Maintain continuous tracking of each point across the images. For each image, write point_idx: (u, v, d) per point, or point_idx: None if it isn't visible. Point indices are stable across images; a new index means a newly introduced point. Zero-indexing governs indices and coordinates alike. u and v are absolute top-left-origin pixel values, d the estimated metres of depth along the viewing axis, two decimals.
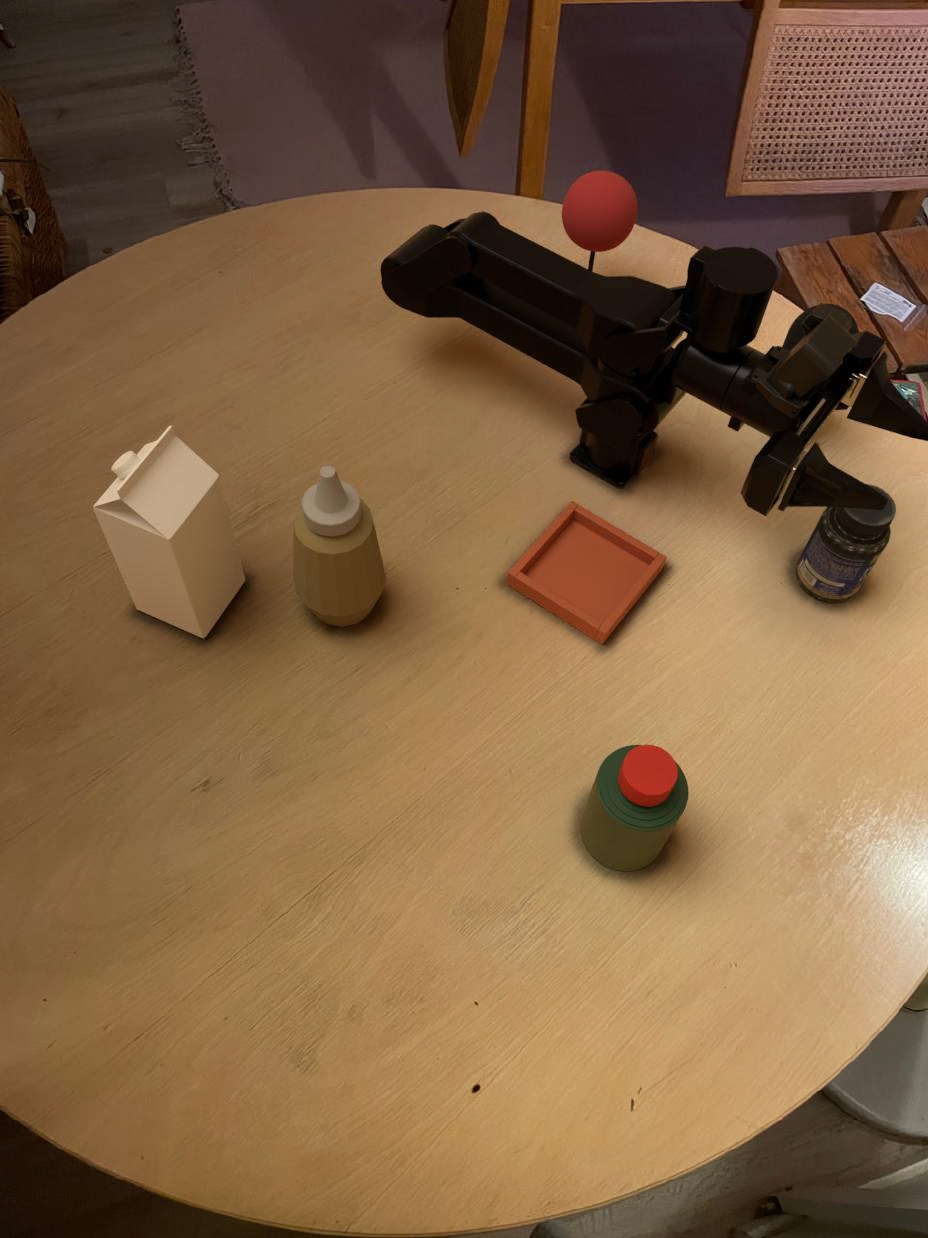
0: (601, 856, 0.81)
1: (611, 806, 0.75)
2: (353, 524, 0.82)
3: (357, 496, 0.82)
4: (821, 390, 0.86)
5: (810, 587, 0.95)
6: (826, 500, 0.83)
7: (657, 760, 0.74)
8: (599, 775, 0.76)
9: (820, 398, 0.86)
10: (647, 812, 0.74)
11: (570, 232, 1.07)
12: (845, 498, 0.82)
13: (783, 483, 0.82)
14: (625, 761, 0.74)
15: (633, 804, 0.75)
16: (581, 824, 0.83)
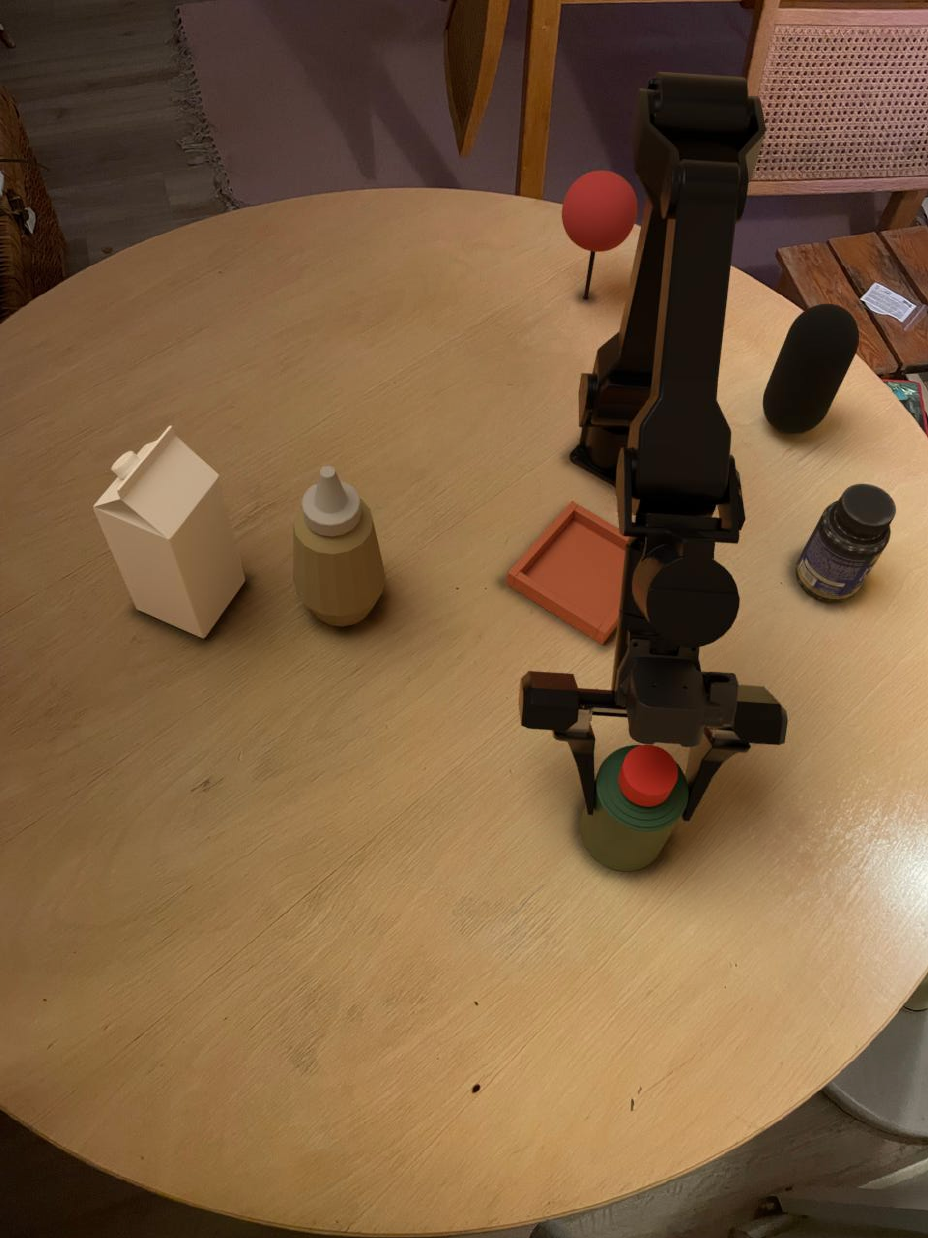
0: (601, 856, 0.81)
1: (611, 806, 0.75)
2: (353, 524, 0.82)
3: (357, 496, 0.82)
4: None
5: (810, 587, 0.95)
6: None
7: (657, 760, 0.74)
8: (599, 775, 0.76)
9: None
10: (647, 812, 0.74)
11: (570, 231, 1.07)
12: None
13: None
14: (625, 761, 0.74)
15: (633, 804, 0.75)
16: (581, 824, 0.83)
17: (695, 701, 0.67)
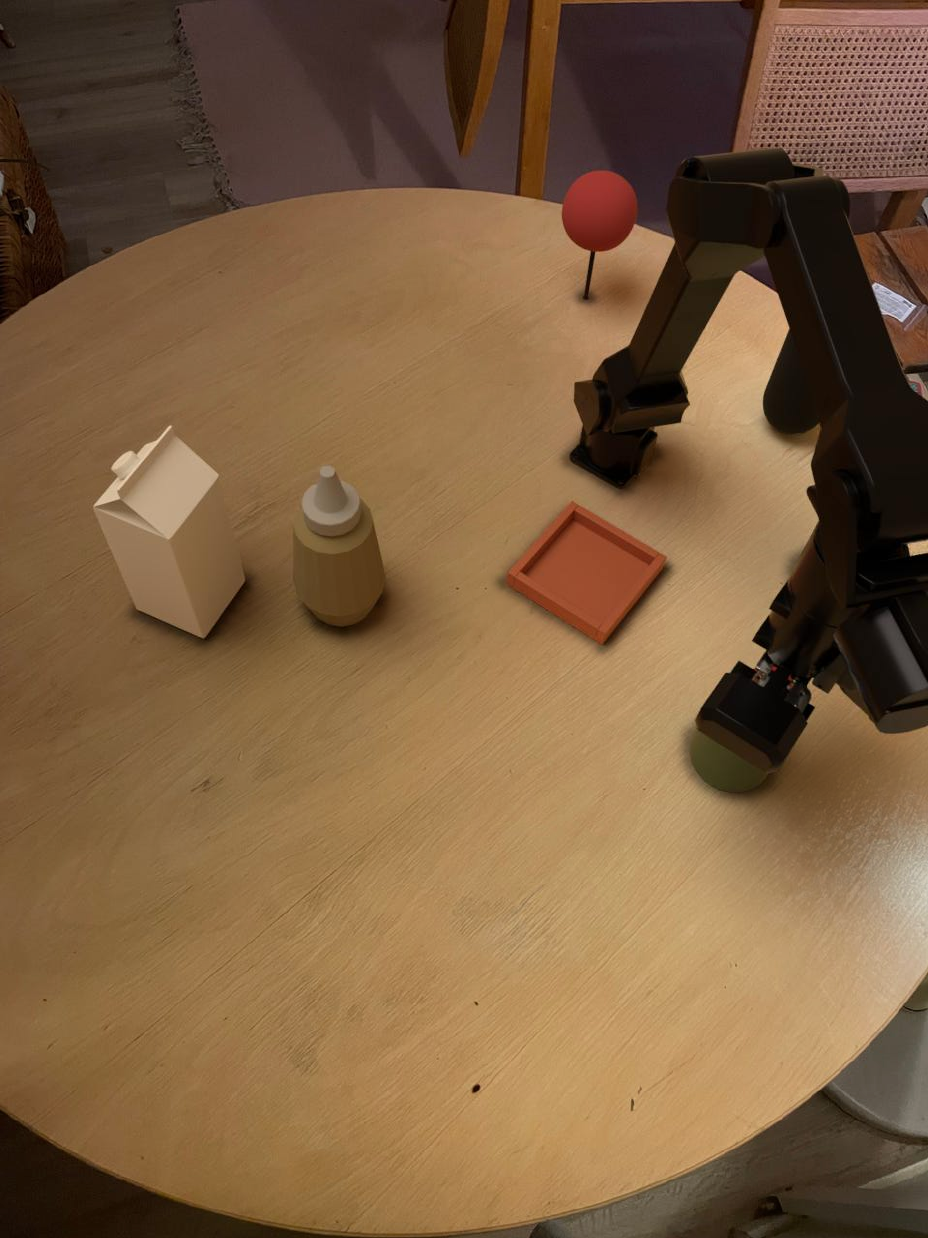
0: (713, 778, 0.85)
1: None
2: (352, 524, 0.82)
3: (357, 496, 0.82)
4: None
5: None
6: None
7: None
8: None
9: None
10: None
11: (570, 231, 1.07)
12: None
13: None
14: None
15: None
16: (691, 748, 0.87)
17: None
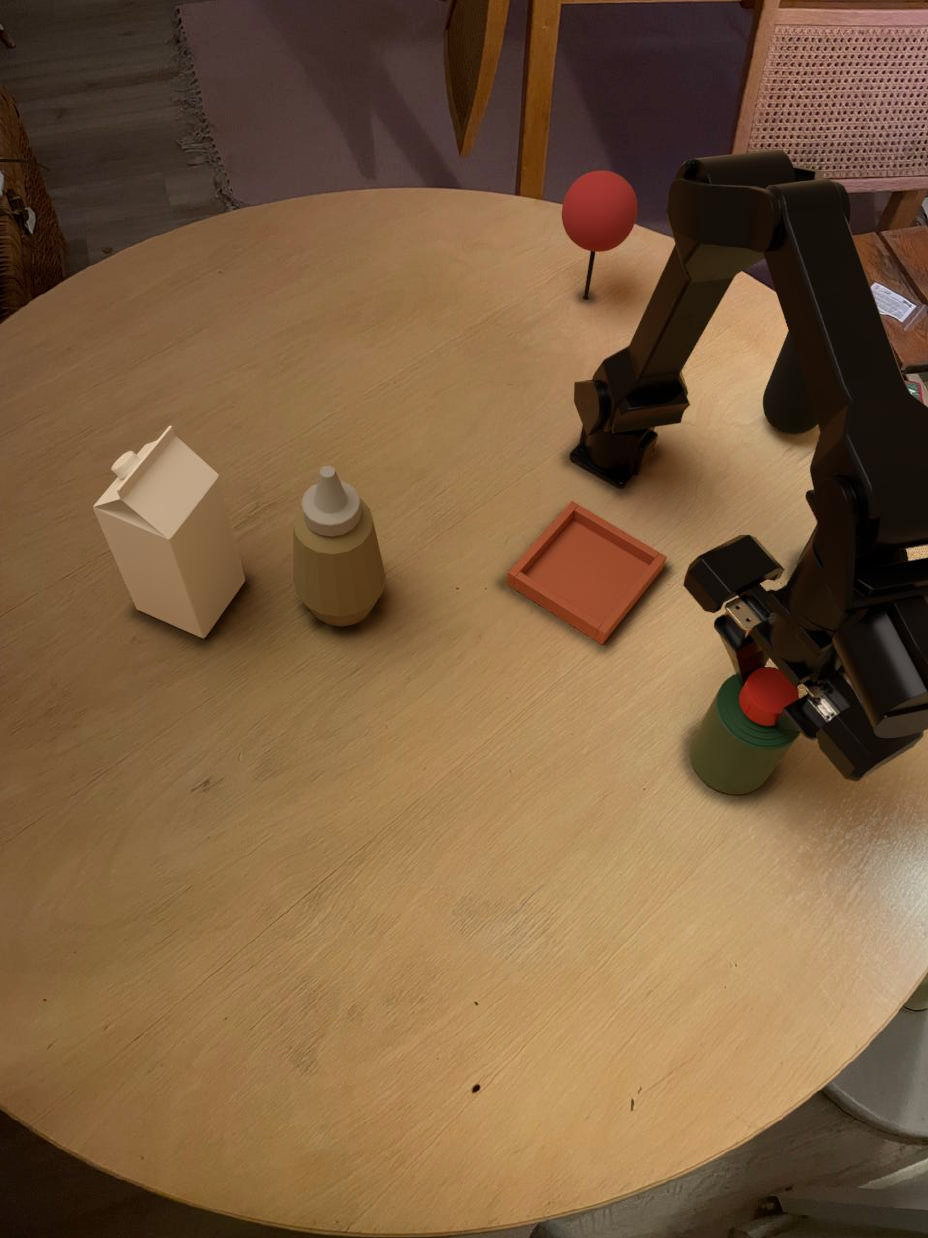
0: (714, 779, 0.84)
1: (731, 726, 0.79)
2: (352, 524, 0.82)
3: (357, 496, 0.82)
4: None
5: None
6: None
7: (765, 680, 0.77)
8: (719, 698, 0.80)
9: None
10: (767, 732, 0.78)
11: (570, 231, 1.07)
12: None
13: None
14: (759, 706, 0.76)
15: (753, 724, 0.78)
16: (692, 750, 0.86)
17: None
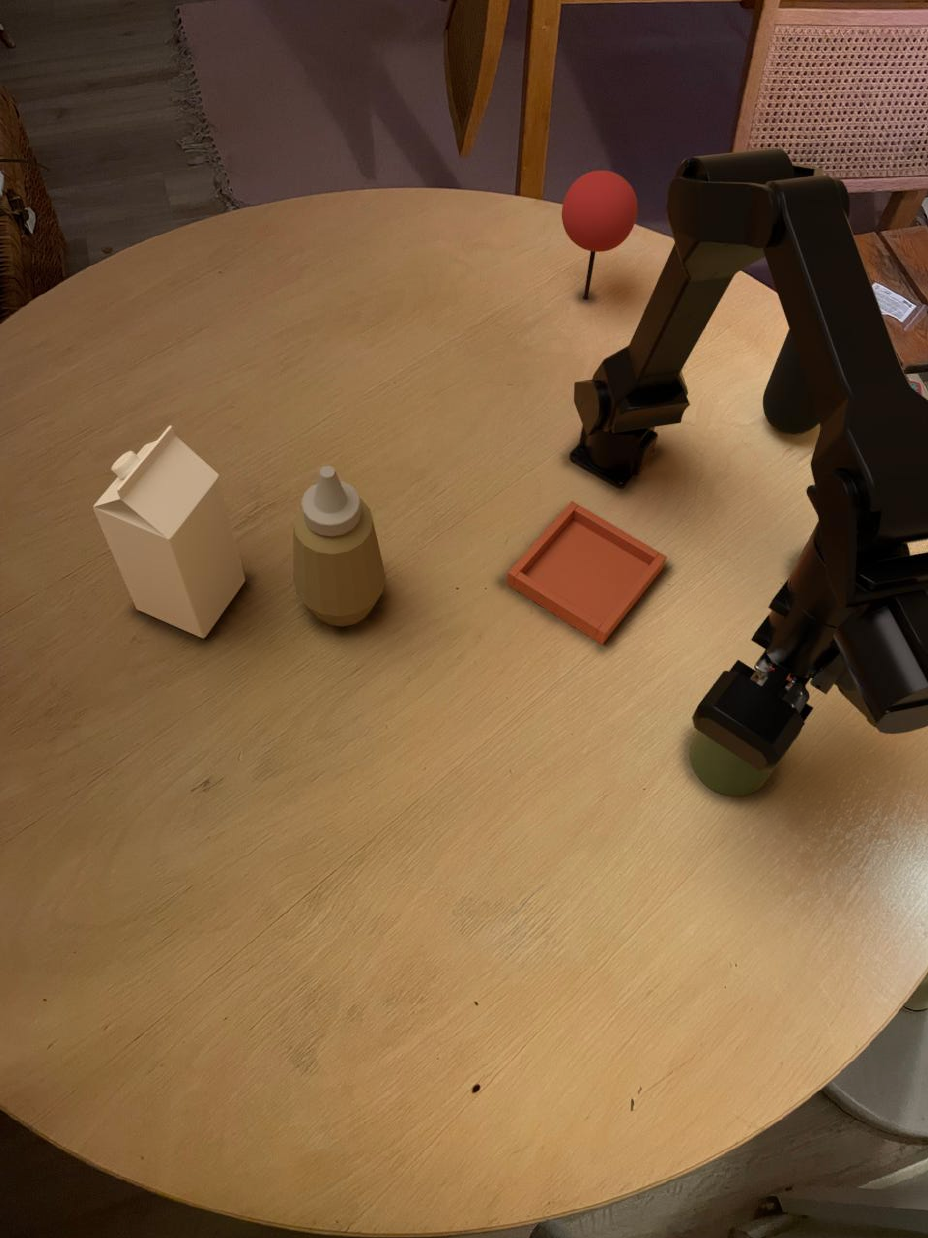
0: (713, 781, 0.85)
1: None
2: (352, 524, 0.82)
3: (357, 496, 0.82)
4: None
5: None
6: None
7: None
8: None
9: None
10: None
11: (570, 231, 1.07)
12: None
13: None
14: None
15: None
16: (691, 752, 0.87)
17: None
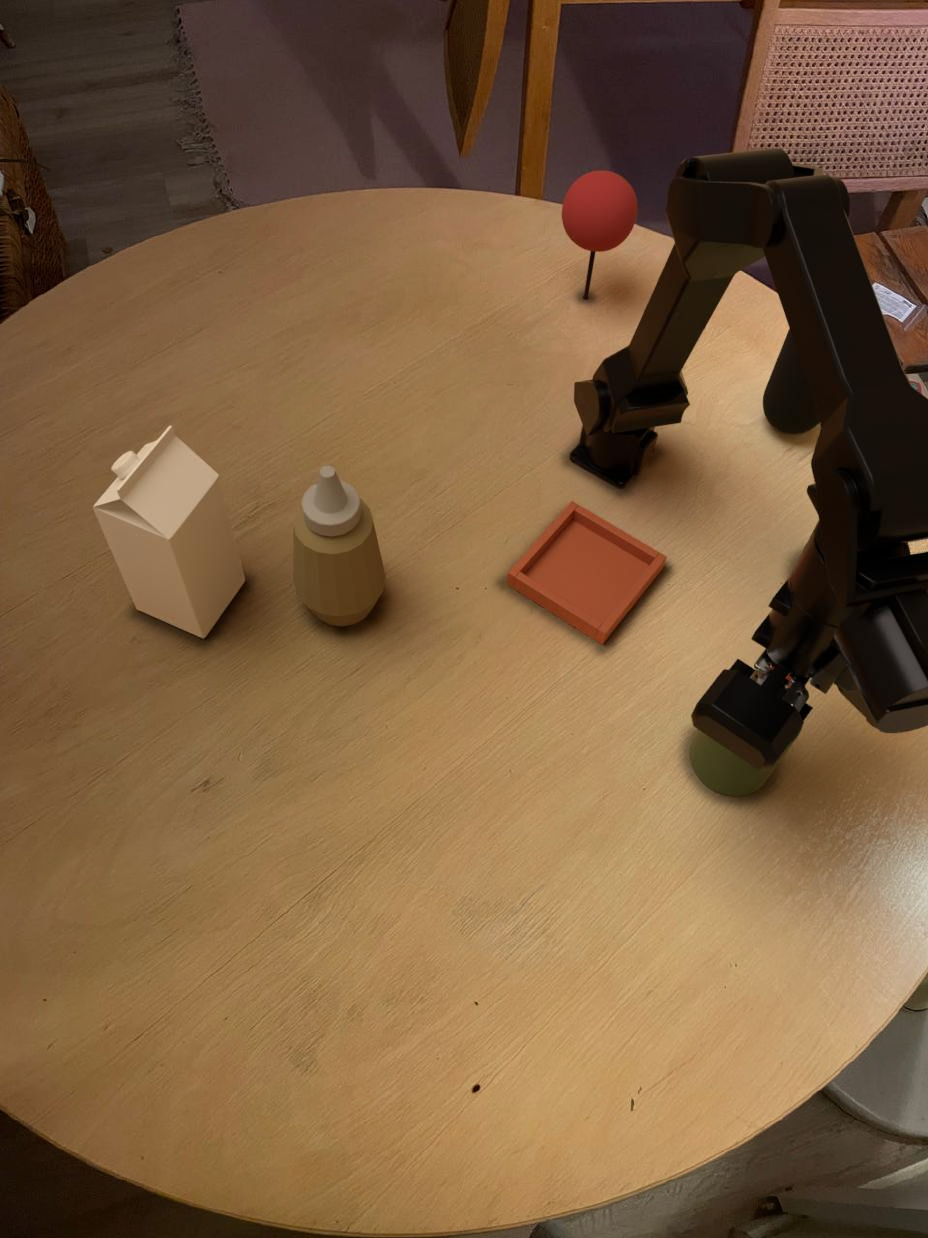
0: (713, 781, 0.85)
1: None
2: (352, 524, 0.82)
3: (357, 496, 0.82)
4: None
5: None
6: None
7: None
8: None
9: None
10: None
11: (570, 231, 1.07)
12: None
13: None
14: None
15: None
16: (691, 752, 0.87)
17: None
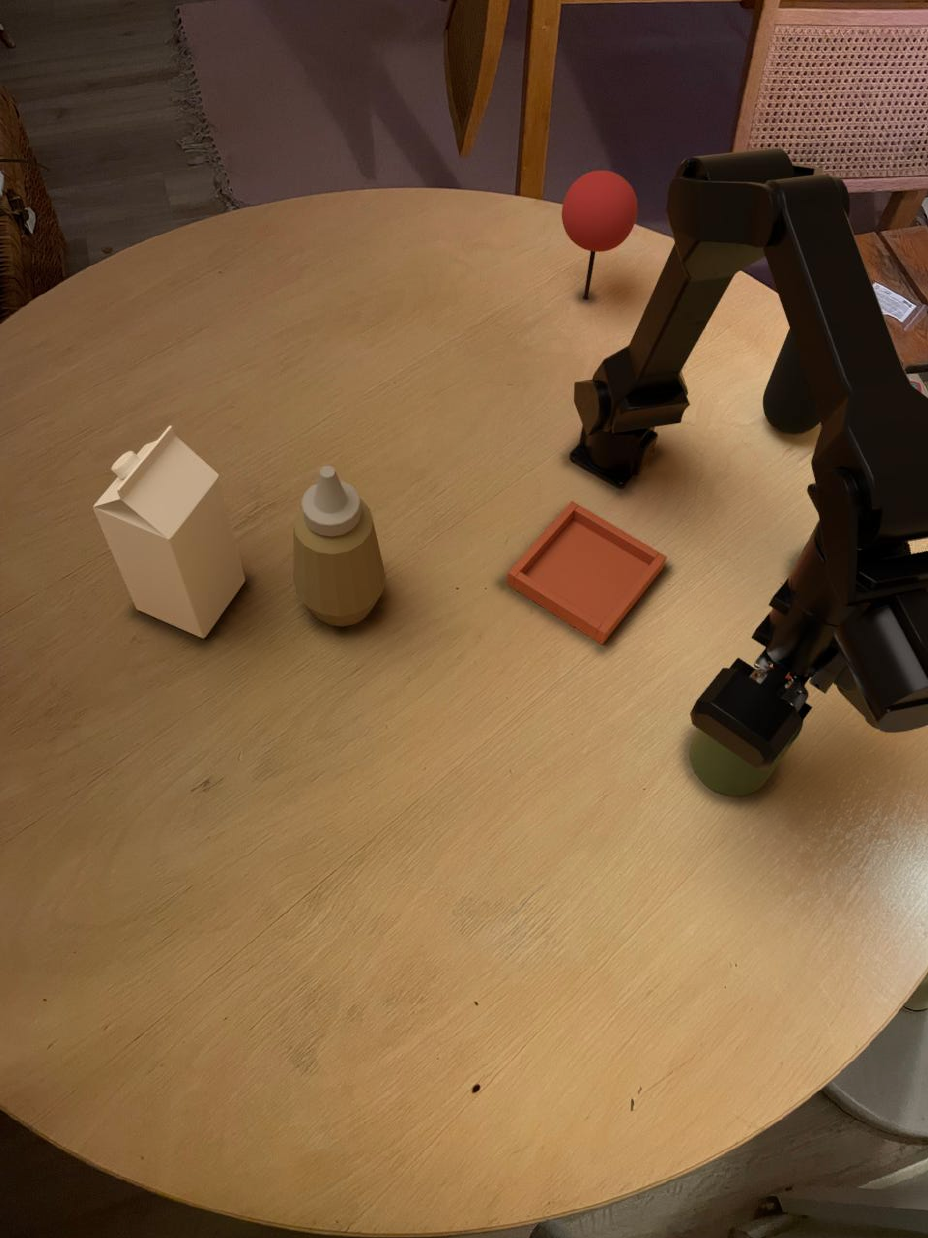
0: (713, 781, 0.85)
1: None
2: (352, 524, 0.82)
3: (357, 496, 0.82)
4: None
5: None
6: None
7: None
8: None
9: None
10: None
11: (570, 231, 1.07)
12: None
13: None
14: None
15: None
16: (691, 752, 0.87)
17: None
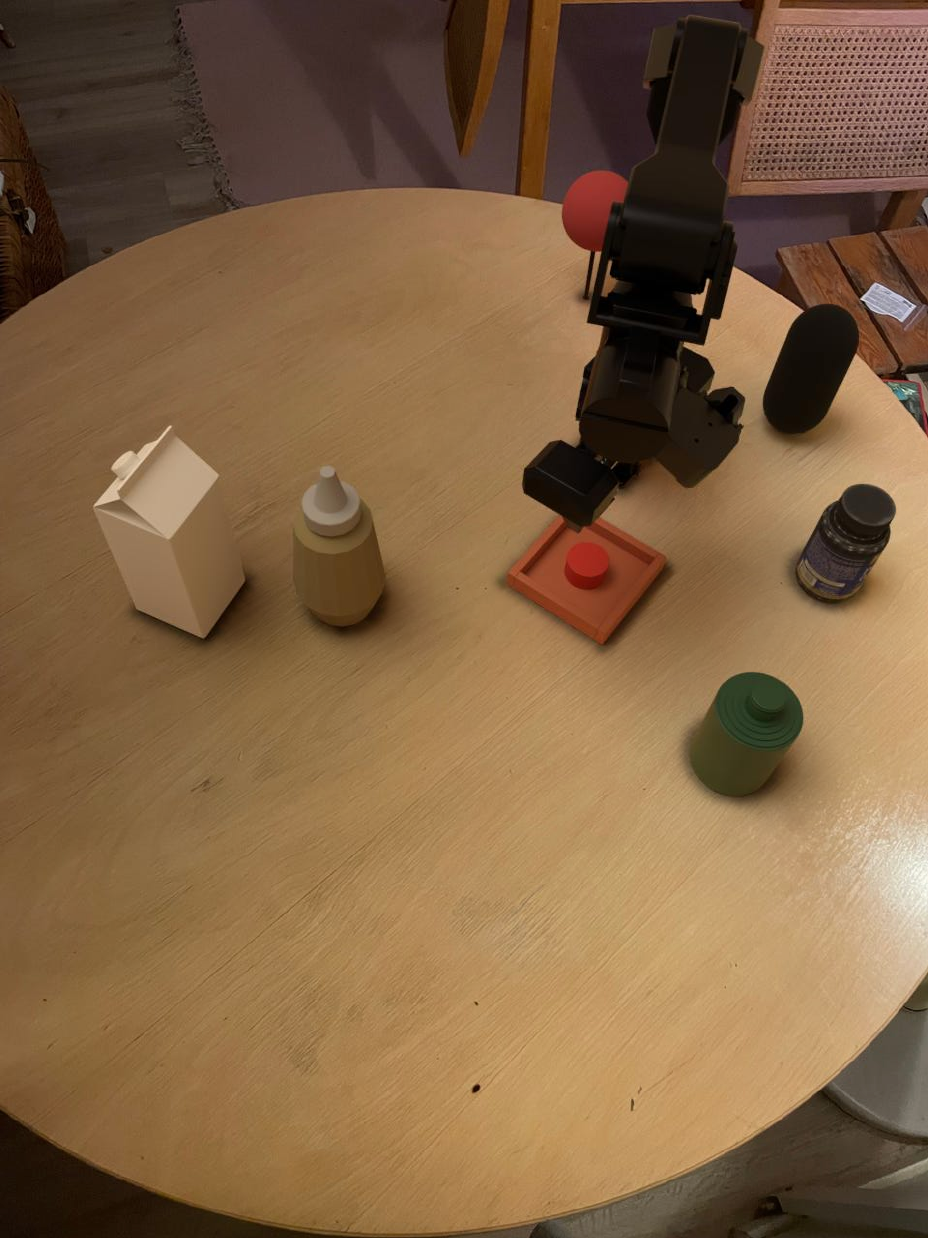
0: (713, 781, 0.85)
1: (730, 727, 0.79)
2: (352, 524, 0.82)
3: (357, 496, 0.82)
4: None
5: (810, 587, 0.95)
6: None
7: (596, 554, 0.95)
8: (718, 699, 0.80)
9: None
10: (766, 733, 0.78)
11: (570, 231, 1.07)
12: None
13: None
14: (571, 549, 0.95)
15: (752, 725, 0.78)
16: (691, 752, 0.87)
17: (728, 434, 0.75)
